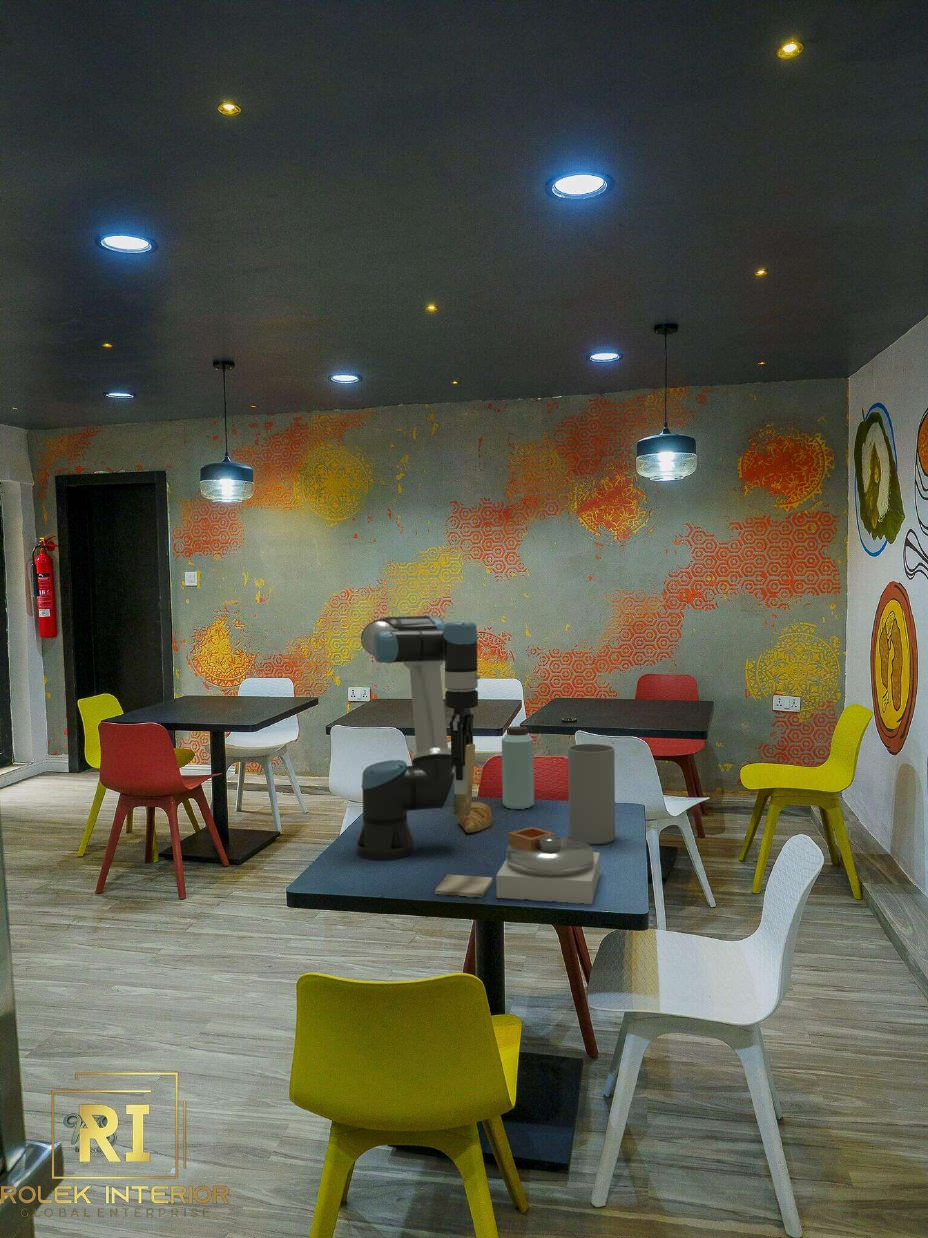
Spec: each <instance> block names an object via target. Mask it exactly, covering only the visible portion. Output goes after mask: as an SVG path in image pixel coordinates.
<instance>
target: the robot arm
mask: <svg viewBox="0 0 928 1238" xmlns="http://www.w3.org/2000/svg"><path fill="white" fill-rule="evenodd" d="M477 629H478V628H477V624H476V623H475V622H472V621H452V622H450V621H449V622H446V623H445V621H444V620H443V618H441V617H440V616H437V615H435V616H434V615H411V616H408V615H407V616H385V617H381V618H379V619H375V620H373V621H372V622H370V623H368V624H367V625H366V626H365V627H364V629H363V630H362V632H361V635H360V641H361V646H362V648H363V649H364V650H365V652H366V653H368V654H369V655H371V656H373V657H374V661H376V663H380V664H381V663H383V664H395V663H403V665H404V667H406V668H407V669H408V670H409V676H410V688H411V691H410V692H411V701H412V713H413V725H414V735H415V746H416V747H415V748H416V754H415V755H414V756H413V757H412V759H411V765H408V764H407V762H406V761H405V760H401V759H397V760H386V761H380V762H375V763H373V764H371V765H369V766H367V767H366V768H365V769H364V770H363V771H362V779H361V780H362V781H361V789H362V791H361V792H362V825H361V829H360V831H359V836H358V838H357V843H356V854H357V856H359V857H361V858H364V859H367V860H368V859H369V860H375V861H376V860H377V861H387V860H397V859H401V858H405V857H407V856H410V855H412V854H413V853H414V852H415V840H414V838H413V835H412V834H413V833H412V832H411V829H410V825H409V823H408V822H409V821H408V812H409V811H419V810H420V811H421V810H433V809H435V810H436V809H440V810H443V809H446V808H454V794H467V772H466V765H465V746H466V743H472V744H474V717H475V715H474V713H471V709H474V708H477V707H478V706H479V691H478V690H477V688H478V685H479V684H478V683H479V682H478V680H480V679H481V676H480V674H478V640H479V636H478V631H477ZM443 664H444V688H445V689H447V690H446V691H445V693H443V692H444V691H443V686H442V683H443V682H442V675H441V673H442V671H441V666H442V665H443ZM443 694H444V695H443ZM444 697H445V699H444ZM444 701H445V703H444ZM445 706H446V708H450V709H453V714H452V716H451V721H449V730H450V750H449V744H448V733H447V724H446V714H445V713H446V712H445ZM475 759H476V758H475V756H474V760H475Z"/></svg>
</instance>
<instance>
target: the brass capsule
mask: <svg viewBox="0 0 928 1238" xmlns="http://www.w3.org/2000/svg"><path fill="white" fill-rule="evenodd" d="M475 752H476V744H474V743H473V744H472V743H466V746H465V765H466V772H467V794H454V807H453V810H452V813H453V815H455V816H457V815H458V816H469V815H470V814H471V803H472V799H473V787H474V786H473V782H474V769H475V768H474V767H475V759H474V757H475V754H476V753H475ZM458 816H457V817H458Z"/></svg>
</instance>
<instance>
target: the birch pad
mask: <svg viewBox="0 0 928 1238" xmlns="http://www.w3.org/2000/svg"><path fill="white" fill-rule="evenodd" d="M493 879H494V877H490V876H473V875H460V874H459V875H458V874H446V876H445V877H444V878H443V879H442V881H441V882H440V883H439V884H438V885H437V887H436V888H435V890H434V895H435V894H447V895H459V896H467V897H466V898H473V897H482V898H481V899H483V898H484V897H483V896H485V894H486V893H487V892H488V890H489V888H490V887H491V886H492V884H493V881H494V880H493ZM459 896H458V897H459Z"/></svg>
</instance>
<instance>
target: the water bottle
mask: <svg viewBox="0 0 928 1238" xmlns="http://www.w3.org/2000/svg"><path fill="white" fill-rule="evenodd" d="M534 751H535V750H534V739H533V738H532V737H531V735H530V734H529V728H528V727H526V726H515V725H514V726H509V727H506V735H504V737H503V738H502V739H501V779H502V780H501V785H502V791H501V793H502V804H503V805H504V807H505V806H506V807H505V808H507V809H508V808H510V809H509V810H515V809H522V810H525V809H524V808H528V809H530V808H532V807H533V805H534V804H535V785H534V784H535V771H534V770H535V767H534V765H535V764H534V759H535V758H534ZM531 806H532V807H531ZM529 807H530V808H529Z"/></svg>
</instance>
